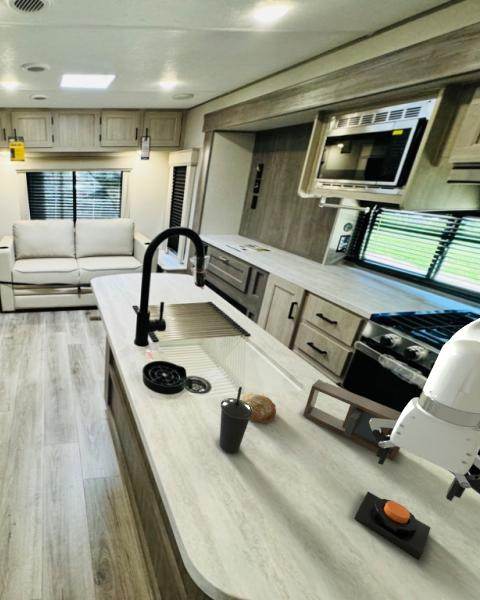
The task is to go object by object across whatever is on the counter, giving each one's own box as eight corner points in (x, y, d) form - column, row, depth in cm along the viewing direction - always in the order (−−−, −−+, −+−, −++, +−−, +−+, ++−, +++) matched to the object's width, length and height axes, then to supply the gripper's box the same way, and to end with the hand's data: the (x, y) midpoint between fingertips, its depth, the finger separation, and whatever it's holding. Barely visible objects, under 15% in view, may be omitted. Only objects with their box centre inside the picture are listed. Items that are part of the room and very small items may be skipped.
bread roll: (236, 410, 105) (230, 393, 102) (265, 398, 104) (260, 381, 101) (253, 433, 96) (247, 415, 93) (286, 420, 94) (280, 401, 92)
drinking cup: (207, 440, 89) (217, 382, 81) (228, 433, 91) (240, 375, 84) (228, 461, 82) (241, 400, 75) (250, 452, 84) (264, 392, 77)
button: (409, 516, 65) (412, 511, 64) (405, 527, 63) (408, 521, 62) (386, 503, 67) (388, 497, 67) (381, 513, 65) (384, 507, 65)
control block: (426, 534, 65) (434, 521, 63) (418, 560, 60) (426, 547, 59) (364, 497, 72) (370, 485, 71) (353, 518, 68) (359, 506, 66)
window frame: (398, 451, 84) (414, 417, 80) (393, 461, 81) (410, 426, 77) (309, 409, 100) (318, 379, 95) (302, 415, 97) (312, 385, 93)
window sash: (383, 445, 84) (393, 420, 81) (375, 457, 80) (386, 432, 77) (342, 425, 90) (351, 402, 87) (334, 436, 87) (343, 413, 84)
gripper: (532, 426, 50) (484, 500, 57) (389, 376, 63) (363, 440, 70) (532, 449, 46) (480, 525, 53) (379, 390, 59) (352, 457, 66)
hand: (413, 477), depth 61 cm, fingers open, 9 cm apart
